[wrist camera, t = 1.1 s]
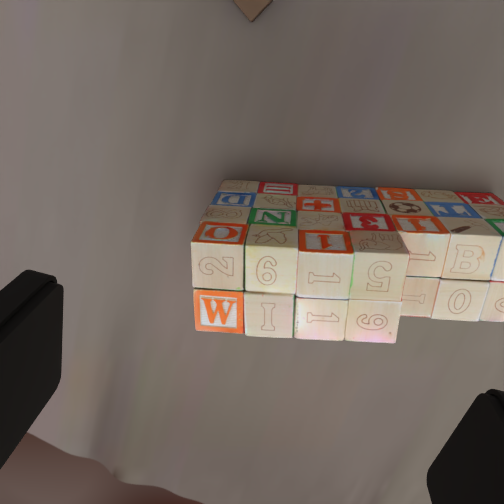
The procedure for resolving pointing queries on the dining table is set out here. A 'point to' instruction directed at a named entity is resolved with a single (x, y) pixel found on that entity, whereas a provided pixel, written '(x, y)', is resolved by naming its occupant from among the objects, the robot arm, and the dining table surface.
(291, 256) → the stack of blocks
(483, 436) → the robot arm
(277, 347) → the dining table surface
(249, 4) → the brown picture frame
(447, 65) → the dining table surface
